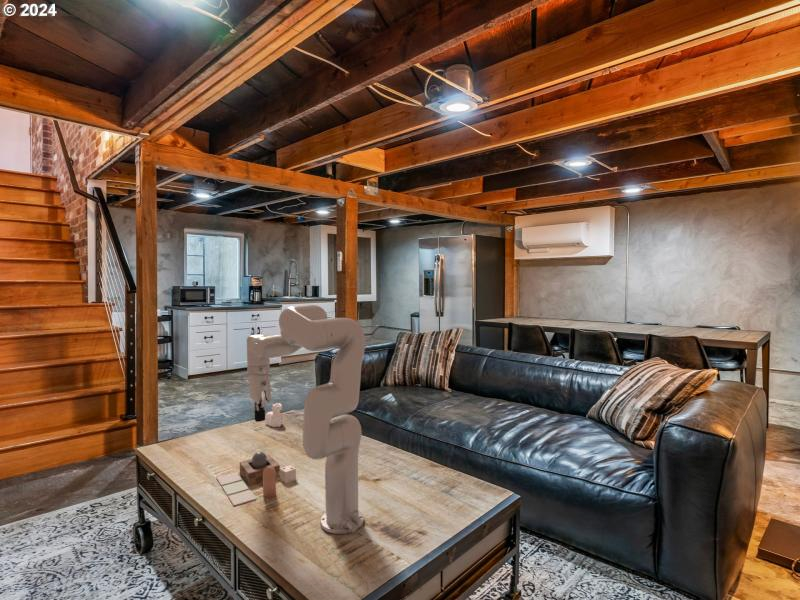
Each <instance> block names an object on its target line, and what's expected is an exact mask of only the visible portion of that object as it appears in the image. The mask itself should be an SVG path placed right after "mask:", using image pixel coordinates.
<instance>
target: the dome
mask: <svg viewBox="0 0 800 600" xmlns="http://www.w3.org/2000/svg"><path fill="white" fill-rule="evenodd" d="M266 456H267V455H266V453H265V452H264V451H258V452H255V453H254V454H253V455H252V458H251V459H252V468H253V469H256V468H260V467H264V466H267V457H266Z"/></svg>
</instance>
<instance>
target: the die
mask: <svg viewBox="0 0 800 600" xmlns="http://www.w3.org/2000/svg"><path fill="white" fill-rule="evenodd" d="M279 479H280V481H282V482H283V481H284V483H285V484H288V483H291V482H293V481H295V480H297V469H296V467H294V466H292V465H290V464H289V465H286V466H284V467H280V476H279ZM287 482H288V483H287Z"/></svg>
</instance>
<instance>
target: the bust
mask: <svg viewBox="0 0 800 600" xmlns="http://www.w3.org/2000/svg"><path fill="white" fill-rule="evenodd" d="M282 409H283V404H282V403H280V402H278V403H277V402H276V403H275V404H274V403H272V406H271V410H272V411H268V412H267V413H265V420H264V422H265V424H267V426H269V427H272V428H276V427H277V428H279V427H282V425H283V423H284V421H285V417H284V414H283V413H282V412H281V411H282Z"/></svg>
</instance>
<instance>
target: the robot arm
mask: <svg viewBox="0 0 800 600" xmlns="http://www.w3.org/2000/svg"><path fill="white" fill-rule="evenodd" d="M278 325H279V328H280V334H275V335H269V336H268V335H267V334H262V333H261V334H259V333H258V334H251V335H248V336H247V338H246V366H247V367H246V368H247V369H246V370H247V375H248V376H249V397H250V400H252V401H253V408H254V421H255V422H256V423H257V422H259V423H260V422H265V416H266V407H267V402H268V403H270V402H272V392H271V382H270V375H269V374H271V372H270V371H271V368H270V366H271V364H270V363H271V362H270V360H271V359H273V358H279V357H286V356H289V355H292V354H294V353H295V352H297V351H299V350H301V349H302V348H304V349H306V350H307V351H311V352H319V351H327V350H332V349H335V348H336V349H337V348H338V352H337V353H336V354H335V356H334V358H333V360H332V364H331V366H330V367H331V368H330V379H329V381H328V382H327V383H324V384H321V385H317V386H314V387H313V388H312V389H311V390H309V392H308V393H307V395H306V397H305V400H304V407H303V421H302V423H303V424H302V426H303V427H302V445H303V449H304V452H305V454H306V455H307V457H308V458H310V459H312V460H322V459H324V458H326V459H325V468H324V470H325V473H324V474H325V476H324V479H325V480H324V483H325V484H324V485H325V487H324V488H325V512H324V513H323V514H322V515H321V517H320V522H319V523H320V527H321V529H322V530H324V531H326V532H327V533H329V534H334V535H343V534H344V535H346V534H349V533H350V534H351V533H355V532H356V531H357V530H358V529H360V528H361V527H362V526H363V524H364V514H363V512H362V511H361V510H359V452H360V451H359V450H360V445H361V439H362V426H361V423H360V421H359V419H358V418H357V417H356V416H354V415H352V414H349V413H352V412H353V411H354V410H356V409H357V407H358V405H359V401H360V389H361V378H362V377H361V375H362V365H363V359H364V355H365V351H366V336H365V333H364V330H363V327H362V326H361V325H360V323H359V322H358V321H356V320H355V319H352V318H349V317H334V318H328V313H327V312H326V310H325V309H324V308H323V307H322V306H318V305H317V304H316V305H315V304H306V305H305V304H304V305H291V306H288V307H286V308H284V309H283V310H282V312H281V313H280V315H279V318H278Z"/></svg>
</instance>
